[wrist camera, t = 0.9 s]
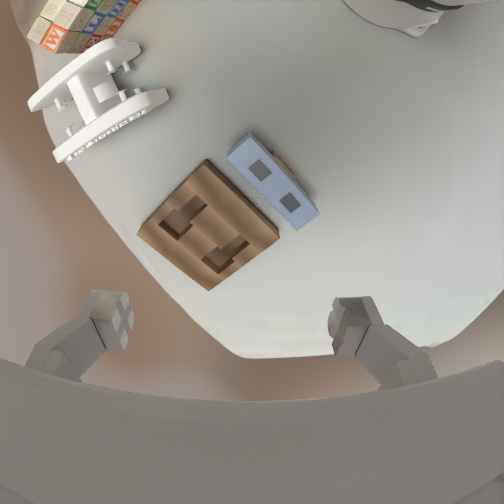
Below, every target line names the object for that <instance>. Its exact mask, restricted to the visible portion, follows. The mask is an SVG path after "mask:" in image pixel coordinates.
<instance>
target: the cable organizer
mask: <svg viewBox="0 0 504 504" xmlns="http://www.w3.org/2000/svg"><path fill="white" fill-rule="evenodd" d="M140 52H141V49H140V47H139V45H138V43H135V42H130V41H126V40H121V39H116V38H109V39H106V40H103V41H101V42H99V43H97V44H95V45H93V46H92V47H90V48H89V49H88V50H86V51H85V52H83V53H82V54H81V55H79V56H78V57H77V58H75V59H74V60H73V61H72V62H70V63H69V64H68V65H67V66H65V67H64V68H63V69H62V70H60V71H59V72H58V73H57V74H56V75H54V76H53V77H52V78H51V79H50V80H49V81H48V82H47V83H45V84H44V85H43V86H42V87H41V88H40V89H39V90H38V91H37V92H36V93H35V94H34V95H33V96H32V97H31V98H30V99H29V100H28V106H29V108H30V110H31V112H34V111H37V110H40V109H43V108H47V107H50V106H53V105H56V106H57V108H58V110H57V111H58V112H60V111H62V110H64V109H65V108H66V107H67V106H68V105H69V104H68V105H64V106H63V105H62V103H64V102H67V101H69V100H71V99H72V98H74V101H75V103H76V105H75V106H76V107H78V109H79V111H80V114H81V116H82V118H83V120H84V121H83V123H85V125H86V126H84V127H83V128H81V129H80V130H79V131H77V132H76V133H75V134H74V133H73V131H72V129H71V127H72V126H73V125H74V124H73V125H71V126H68V127H67V128H66V129H64V130H66V132H67V134H68V136H69V138H68V139H66V140H65V141H64V142H63V143H61V144H60V145H59V146H58V147H57V148H56V149H55V150H54V151H53V155H54V157H55V159H56V161H57V163H60V162H63V161H64V160H66V159H68V161H69V160H71V159H72V158H74V157H75V156H77V155H78V154H80V153H81V152H83V151H84V150H86V149H87V148H89V147H90V146H92V145H93V144H95V143H96V142H98V141H99V140H101V139H103V138H104V137H106V136H108V135H110V134H111V133H113V132H114V131H116V130H118V129H119V128H121V127H122V126H124V125H126V124H127V123H129V122H131V121H133V120H135V119H137V118H139V117H140V116H142V115H144V114H146V113H148V112H150V111H152V110H153V109H154V108H156V107H158V106H159V105H161V104H163V103H164V102H166V101H167V100H169V96H168V93H167V91H166V89H165V88H162V89H156V90H150V91H145V92H141V91H140V89H139V88H141V87H138V88H135V89H134V90H132V92H133V91H135V93H136V95H134V96H132V97H130V98H128V99H127V97H126V95H125V92H124V91H125V90H127V89H125V90H124V89H123V90H121V91H118V89H117V87H116V85H115V83H114V80H113V78H112V76H111V73H114V72H115V71H116V70H118V69H116V68H118V67H120V66H121V65H123V67H124V69H125V72H124V73H123V74H125V73H127V72H130V71H131V70H133V69H130V67H129V65H128V63H127V62H128V61H130V60H131V59H133V58H135V57H136V56H137V55H139V54H140ZM142 87H143V86H142ZM70 104H71V103H70ZM58 112H57V113H58ZM75 124H76V123H75Z"/></svg>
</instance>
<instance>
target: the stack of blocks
mask: <svg viewBox="0 0 504 504" xmlns="http://www.w3.org/2000/svg"><path fill="white" fill-rule="evenodd" d="M140 1H141V0H49V1H48V2H47V4H46V6H45V7H44V9H43V10H42V12H41V14H40V16H39V17H38V18H37V20H36V21H35V23H34V25H33V27H32V28H31V30H30V32H29V34H28V36H27V38H29V39H31V40H32V41H34V42H36V43H37V44H39V45H41V46H42V47H44V48H46V49H47V50H49V51H51V52H52V53H54V54H56V53H83V52H85V51H86V50H88V49H89V48H90V47H92V46H93V45H95V44H97V43H99V42H101V41H103V40H106V39H109V38H112V37H113V36H114V34H115V33H116V32H117V30H118V29H119V28H120V26H121V25H122V24H123V22H124V21H125V20H126V19H127V18H128V16H129V15H130V14H131V13H132V11H133V10H134V9H135V8H136V7H137V5H138V3H139V2H140Z"/></svg>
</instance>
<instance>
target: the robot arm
mask: <svg viewBox="0 0 504 504" xmlns="http://www.w3.org/2000/svg"><path fill="white" fill-rule="evenodd" d="M344 1H345V3H346V4H347V5H348V6H349V7H350V8H351V9H352V10H353V11H354V12H355V13H357V14H358V15H359V16H361V17H362V18H364V19H365V20H367V21H369V22H371V23H373V24H376V25H378V26H382V27H386V28H393V29H398V30H401V31H402V32H404V33H406V34H408V35H410V36H412V37H419V36H421V35H422V34H423V33H424V32H425V31H426V30H427V29H428V28H429V27H430V26H431V25H432V24H435V23H437V22H439V20H438V19H439V18H440V17H441V16H442V15H443V14H444V13H445V12H448V11H452V10H454V9H458V8H461V7H462V6H464V5H465V4H474V3H485V2H497V1H499V0H344ZM418 27H419V28H418ZM128 302H129V298H128V295H127V294H126V293H124V292H114V291H101V290H93V291H91V293H90V294H89V296H88V298H87V300H86V302H85V304H84V305H83V307H82V309H81V311H80V313H79V315H78V317H73V318H72V319H70V320H69V321H68V322H66V323H65V324H63V325H62V326H60V327H59V328H58V329H56V330H55V331H53V332H52V333H50V334H49V335H48V336H46V337H45V338H43V339H42V340H41V341H39V342H38V343H37V344H35V346H34V348H33V350H32V352H31V354H30V356H29V358H28V360H27V362H26V364H25V366H22V365H19V364H16V363H13V362H10V361H8V360H5V359H2V358H0V504H504V362H502V361H499V360H495V361H491V362H489V363H486V364H483V365H480V366H477V367H474V368H471V369H468V370H464V371H461V372H458V373H454V374H451V375H447V376H444V377H440V378H438V376H437V374H436V372H435V369H434V367H433V365H432V363H431V361H430V358H429V356H428V355H427V354H426V353H425V352H423V351H422V350H421V349H419V348H418V347H417V346H415V345H414V344H413V343H411V342H410V341H409V340H408V339H406V338H405V337H404V336H402V335H401V334H400V333H398V332H397V331H396V330H394V329H393V328H392V327H390V326H389V325H384V323H383V320H382V318H381V316H380V314H379V312H378V309H377V307H376V305H375V303H374V301H373V299H372V297H370V296H364V297H340V298H335V299H334V301H333V304H332V306H333V309H334V310H333V311H332V312H330V314H329V318H328V331H329V335H330V336H331V337H332V338H333V342H332V347H333V350H334V354H335V357H345V356H355V358H356V359H357V360H358V361H359V362H360V363H361V364H362V365H363V366H364V367H365V368H366V370H368V372H369V373H370V374H371V375H372V376H373V377H374V378H375V379H376V380H377V381H378V382H379V383H380V384H381V386H380V388H379V389H378V390H377V391H374V392H368V393H360V394H353V395H345V396H338V397H328V398H316V399H303V400H285V401H214V400H198V399H184V398H174V397H163V396H155V395H148V394H141V393H134V392H128V391H122V390H116V389H110V388H105V387H100V386H95V385H91V384H86V383H83V382H82V380H81V379H80V378H79V377H80V376H81V375H82V374H83V373H84V372H85V371H86V370H87V369H88V368H89V367H90V366H91V365H92V364H93V363H94V362H95V361H96V360H97V359H98V358H99V357H100V356H101V355H102V354H103V353H104V352H105V351H106V349H107V350H116V351H125V348H126V345H127V342H128V336H127V334H128V333H129V332H130V331H131V330H132V327H133V322H134V315H133V310H132V308H131V307H130V306H129V305H128Z"/></svg>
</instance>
